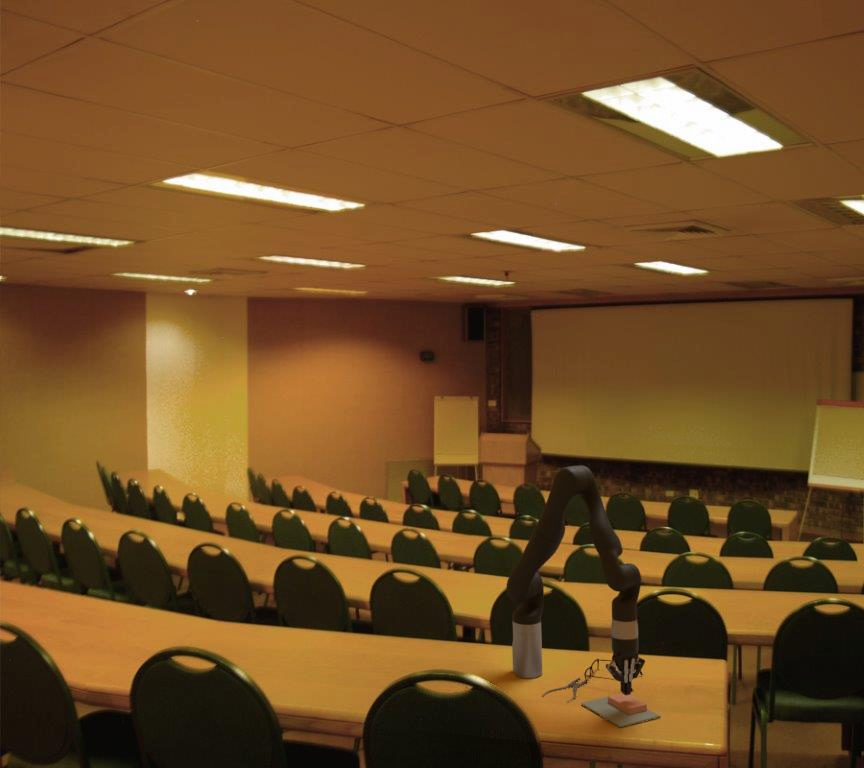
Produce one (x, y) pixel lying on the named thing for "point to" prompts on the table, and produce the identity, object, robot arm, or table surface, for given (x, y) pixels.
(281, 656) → the table surface
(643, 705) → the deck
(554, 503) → the robot arm
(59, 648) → the table surface
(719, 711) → the table surface
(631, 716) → the mat
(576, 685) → the pliers
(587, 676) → the eyeglasses
